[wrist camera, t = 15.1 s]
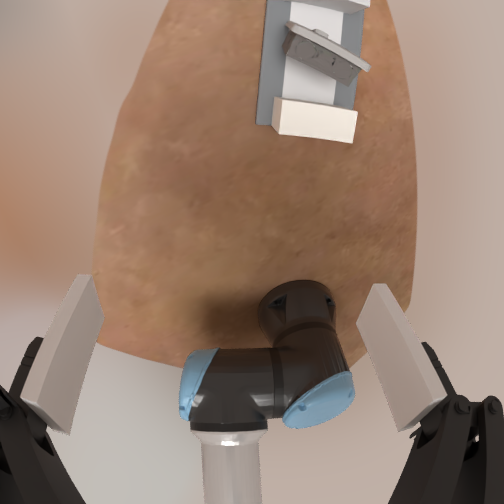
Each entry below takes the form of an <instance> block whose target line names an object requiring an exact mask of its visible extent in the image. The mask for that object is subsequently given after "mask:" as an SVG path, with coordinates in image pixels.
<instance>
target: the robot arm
mask: <svg viewBox="0 0 504 504" xmlns="http://www.w3.org/2000/svg"><path fill="white" fill-rule="evenodd" d="M104 318H105V317H104V314H103V311H102V308H101V305H100V302H99V298H98V295H97V292H96V288H95V285H94V281H93V277H92V275H86V274H78V275H77V277H76V278H75V280H74V281H73V283H72V285H71V287H70V289H69V290H68V292H67V294H66V296H65V298H64V300H63V301H62V303H61V305H60V307H59V309H58V311H57V313H56V315H55V317H54V319H53V321H52V323H51V325H50V327H49V329H48V331H47V333H46V335H45V337H44V338H41V337H36V338H35V339H34V340H33V341H32V342H31V343H30V344H29V346H28V348H27V350H26V352H25V354H24V357H23V359H22V361H21V365H20V366H19V368H18V371H17V373H16V375H15V378H14V380H13V383H12V385H11V388H10V391H9V393H8V392H7V391H6V390H5V389H4V388H3V387H2V386H1V385H0V504H86V503H85V501H84V500H83V498H82V497H81V495H80V493H79V492H78V490H77V489H76V487H75V485H74V483H73V482H72V480H71V478H70V477H69V475H68V473H67V471H66V469H65V468H64V466H63V464H62V462H61V460H60V458H59V456H58V454H57V452H56V450H55V448H54V445H53V443H52V441H51V439H50V437H49V435H48V433H47V432H46V428H47V425H48V426H49V427H50V428H51V429H53V431H56V432H59V433H62V434H66V435H70V431H71V426H72V422H73V417H74V414H75V410H76V406H77V402H78V399H79V395H80V391H81V388H82V384H83V381H84V378H85V374H86V371H87V368H88V365H89V362H90V358H91V355H92V352H93V349H94V346H95V343H96V341H97V338H98V335H99V332H100V329H101V327H102V324H103V321H104ZM258 318H259V324H260V327H261V329H262V331H263V333H264V334H265V336H266V338H267V339H268V341H269V343H270V344H271V346H272V348H249V349H220V348H215V349H200V350H195V351H193V352H192V353H190V355H189V356H188V357H187V359H186V362H185V365H184V368H183V372H182V377H181V383H180V391H179V413H180V417H181V418H182V419H184V420H186V421H190V427H191V432H192V433H193V434H194V435H195V436H196V437H197V438H198V439H199V440H200V441H201V450H202V468H203V485H204V499H205V504H262V496H261V480H260V463H259V445H258V441H259V439H260V438H261V437H262V436H263V435H264V434H265V433H266V432H267V431H268V428H267V427H268V426H267V419H272V418H282V421H283V422H284V423H285V425H286V426H287V427H289V428H296V429H298V428H307V427H311V426H315V425H318V424H321V423H324V422H326V421H328V420H330V419H332V418H334V417H336V416H338V415H339V414H341V413H342V412H343V411H345V410H346V409H347V408H348V407H349V406H350V405H351V403H352V402H353V400H354V397H355V389H354V385H353V380H352V373H351V372H350V370H349V367H348V365H347V362H346V359H345V356H344V353H343V350H342V348H341V345H340V342H339V339H338V337H337V334H336V331H335V324H336V305H335V301H334V299H333V296H332V294H331V292H330V291H329V290H328V288H326V287H325V286H324V285H322V284H320V283H317V282H314V281H307V280H300V281H293V282H289V283H285V284H283V285H281V286H278V287H277V288H275V289H273V290H272V291H271V292H269V293H268V294H267V295H266V296H265V297H264V298H263V300H262V301H261V303H260V305H259V309H258ZM356 325H357V327H358V330H359V332H360V334H361V337H362V339H363V341H364V344H365V346H366V348H367V351H368V353H369V356H370V358H371V360H372V363H373V366H374V368H375V370H376V373H377V375H378V378H379V381H380V383H381V386H382V388H383V391H384V394H385V396H386V399H387V402H388V404H389V407H390V410H391V412H392V415H393V418H394V421H395V423H396V427H397V429H398V432H400V431H403V430H406V429H409V428H412V427H413V426H415V425H416V424H417V423H418V422H419V421H420V424H421V427H419V428H418V429H417V430H416V431H414V432H413V433H412V434H411V435H410V438H412V437H413V436H415V435H416V437H415V439H414V443H413V446H412V449H411V452H410V454H409V457H408V459H407V462H406V465H405V467H404V469H403V472H402V474H401V476H400V479H399V481H398V483H397V485H396V488H395V490H394V492H393V494H392V496H391V498H390V500H389V503H388V504H504V415H503V408H502V404H501V402H500V401H499V399H498V398H496V397H495V396H488V397H487V398H486V399H484V400H483V401H482V402H470V401H469V400H468V399H467V398H466V397H464V396H463V395H457V394H456V392H455V390H454V388H453V386H452V384H451V382H450V380H449V378H448V376H447V374H446V373H445V370H444V369H443V368H442V365H441V363H440V361H438V357H437V355H436V354H435V352H434V350H433V349H432V348H431V347H430V346H429V345H428V344H427V343H426V342H422V343H421V342H420V341H419V339H418V337H417V335H416V333H415V332H414V330H413V328H412V326H411V325H410V323H409V321H408V319H407V318H406V316H405V314H404V312H403V311H402V309H401V307H400V306H399V304H398V302H397V301H396V299H395V298H394V296H393V294H392V293H391V291H390V289H389V288H388V286H387V285H386V284H373V285H372V288H371V290H370V292H369V295H368V297H367V299H366V302H365V304H364V306H363V308H362V311H361V313H360V315H359V317H358V320H357V322H356ZM477 435H479V441H477V442H476V440H475V437H476V436H477Z"/></svg>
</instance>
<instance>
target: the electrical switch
mask: <svg viewBox="0 0 504 504" xmlns="http://www.w3.org/2000/svg"><path fill="white" fill-rule="evenodd" d="M285 26H287V27H288V28H290V31H289V32H288V34H287V36H286V38H285V41H284V43H283V44H282V48H283V50H284V52H285V55H286V54H287V55H286V56H289V57H291V58H293V59H295V60H297V61H299V62H302V63H304V64H306V65H308V66H310V67H312V68H314V69H316V70H318V71H320V72H322V73H323V74H325V75H327V76H329V77H331V78H333V79H335V80H336V81H338V82H340V83H342V84H344V85H345V86H347V87H349V85H350V84H351V82H352V81H353V79H354V78H355V77H356V76H357V75H358V73H359V72H360V71H361V69H363V70H365V71H366V72H368V71H369V69H370V68H371V65H369V64H368V63H367V62H366V61H365V60H363V59H362V58H360V57H359V56H357V55H355V54H354V53H352V52H351V51H349V50H347V49H346V48H345V47H343V46H341V45H340V44H338V43H336V42H334V41H332V40H331V39H328V36H329V35H328V34H327V33H325V32H323V31H321V30H319V29H313V30H310V29H308V28H306V27H304V26H302V25H300V24H298V23H295V22H292V21H288V22H287V23H286V25H285ZM288 50H289V51H288ZM287 52H288V53H287Z"/></svg>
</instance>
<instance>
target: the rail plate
mask: <svg viewBox="0 0 504 504" xmlns="http://www.w3.org/2000/svg"><path fill="white" fill-rule="evenodd" d="M368 7H370V0H267V2H266V12H265V23H264V33H263V44H262V54H261V65H260V76H259V87H258V98H257V109H256V121H255V123H256V124H259V125H271V126H272V127H273V128H274V129H275V130H276V131H277V132H278V134H285V135H294V136H304V137H312V138H320V139H327V140H334V141H341V142H347V143H353V137H354V132H355V126H356V120H357V114H358V112H357V111H354V110H353V106H354V100H355V93H356V85H357V78H358V75H357V76H356V77H355V78H354V79H353V81H352V82H351V84H350V85H349V87H347V86H345V85H344V84H342V83H340V82H338V81H336V80H335V79H333V78H331V77H329V76H327V75H325V74H323V73H322V72H320V71H318V70H316V69H314V68H312V67H310V66H308V65H306V64H304V63H302V62H299V61H297V60H295V59H293V58H291V57H289V56H286V55H287V54H286V55H285V52H284V50H283V48H282V44H283V43H284V41H285V38H286V36H287V34H288V32H289V31H290V28H288V27H287V26H285V25H286V23H287V22H288V21H292V22H295V23H298V24H300V25H302V26H304V27H306V28H308V29H310V30H313V29H319V30H321V31H323V32H325V33H327V34H328V35H329V36H328V39H331V40H332V41H334V42H336V43H338V44H340V45H341V46H343V47H345V48H346V49H347V50H349V51H351V52H352V53H354V54H355V55H357V56H359V57H360V53H361V43H362V33H363V21H364V9H365V8H368ZM288 51H289V50H288ZM287 53H288V52H287Z"/></svg>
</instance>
